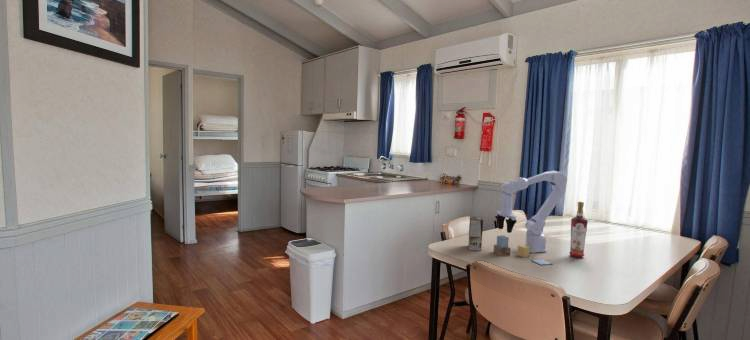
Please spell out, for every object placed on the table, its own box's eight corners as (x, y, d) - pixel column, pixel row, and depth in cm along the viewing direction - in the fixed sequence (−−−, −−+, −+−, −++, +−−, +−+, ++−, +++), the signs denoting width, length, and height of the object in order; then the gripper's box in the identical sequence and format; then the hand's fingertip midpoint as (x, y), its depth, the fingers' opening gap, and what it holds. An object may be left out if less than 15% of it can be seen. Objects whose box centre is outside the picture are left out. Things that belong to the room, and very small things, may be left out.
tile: (542, 259, 181) (542, 259, 181) (552, 264, 175) (552, 263, 175) (530, 260, 179) (530, 259, 179) (540, 265, 173) (540, 264, 173)
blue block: (503, 245, 192) (503, 235, 191) (508, 247, 188) (508, 237, 187) (496, 245, 191) (497, 235, 190) (501, 247, 187) (501, 237, 186)
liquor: (569, 257, 186) (573, 202, 184) (567, 253, 193) (571, 200, 191) (585, 259, 184) (590, 203, 181) (583, 255, 190) (587, 201, 188)
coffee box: (481, 251, 193) (483, 220, 191) (468, 250, 194) (470, 219, 193) (480, 246, 202) (482, 217, 200) (468, 245, 203) (469, 216, 201)
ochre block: (522, 254, 190) (523, 244, 189) (529, 256, 186) (529, 246, 186) (517, 255, 188) (517, 245, 187) (523, 257, 184) (524, 247, 184)
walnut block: (504, 252, 193) (504, 244, 193) (510, 255, 187) (510, 248, 187) (493, 252, 192) (493, 244, 192) (498, 255, 186) (499, 248, 186)
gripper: (492, 203, 202) (490, 227, 203) (508, 208, 188) (506, 234, 189) (503, 202, 204) (501, 227, 205) (520, 207, 190) (518, 233, 191)
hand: (504, 230), depth 197 cm, fingers open, 7 cm apart
